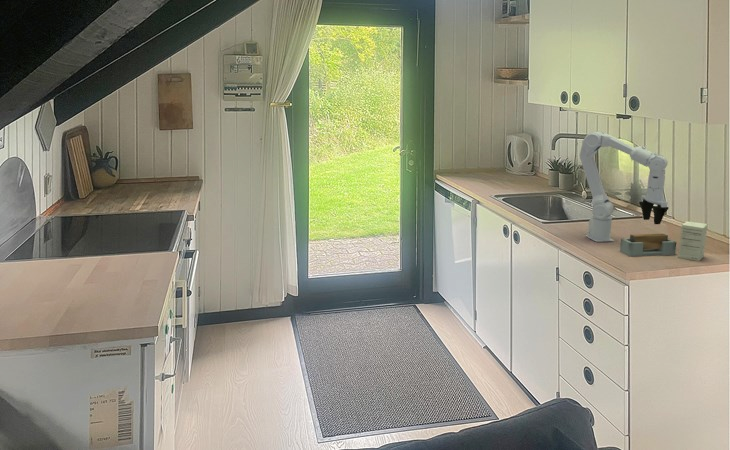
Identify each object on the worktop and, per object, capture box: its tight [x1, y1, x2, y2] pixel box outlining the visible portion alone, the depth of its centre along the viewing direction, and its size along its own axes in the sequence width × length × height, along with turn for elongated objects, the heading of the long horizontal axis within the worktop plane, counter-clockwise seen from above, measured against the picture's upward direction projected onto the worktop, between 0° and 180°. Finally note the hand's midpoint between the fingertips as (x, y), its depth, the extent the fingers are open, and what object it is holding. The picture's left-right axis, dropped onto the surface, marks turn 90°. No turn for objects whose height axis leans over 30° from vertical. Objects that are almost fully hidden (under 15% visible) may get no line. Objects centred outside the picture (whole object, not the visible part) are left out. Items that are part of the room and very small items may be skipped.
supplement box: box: [678, 221, 709, 262], centre depth 225 cm, size 7×7×13 cm
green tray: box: [619, 237, 677, 257], centre depth 231 cm, size 7×18×5 cm, turn 96°
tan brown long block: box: [629, 233, 669, 249], centre depth 231 cm, size 3×13×5 cm, turn 96°
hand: (651, 221), depth 239 cm, fingers open, 7 cm apart
